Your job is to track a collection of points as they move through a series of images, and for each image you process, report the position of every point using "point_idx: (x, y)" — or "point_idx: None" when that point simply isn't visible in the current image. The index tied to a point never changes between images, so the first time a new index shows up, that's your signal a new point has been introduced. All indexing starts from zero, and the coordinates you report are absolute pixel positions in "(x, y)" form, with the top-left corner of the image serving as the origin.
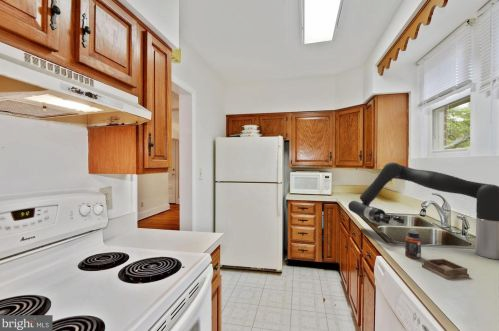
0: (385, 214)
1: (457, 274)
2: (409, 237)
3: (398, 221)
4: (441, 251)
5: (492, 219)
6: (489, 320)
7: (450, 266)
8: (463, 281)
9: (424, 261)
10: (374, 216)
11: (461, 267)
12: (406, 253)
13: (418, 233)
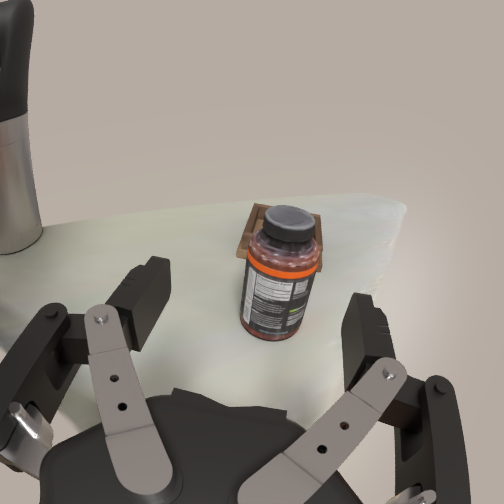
0: (169, 463)
1: None
2: (315, 242)
3: (147, 328)
4: (74, 301)
5: (27, 107)
6: (363, 194)
7: (252, 232)
8: None
9: (322, 250)
10: (462, 435)
11: (258, 208)
12: (302, 318)
13: (279, 205)
